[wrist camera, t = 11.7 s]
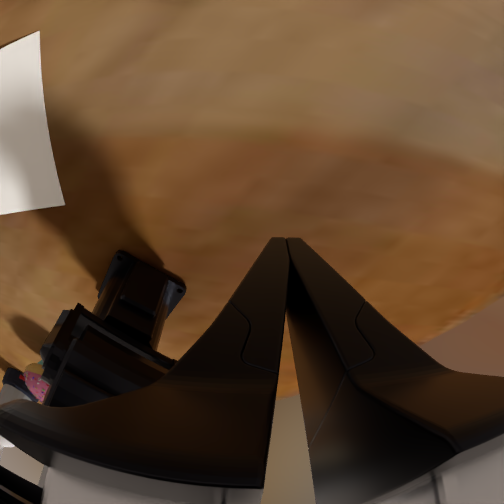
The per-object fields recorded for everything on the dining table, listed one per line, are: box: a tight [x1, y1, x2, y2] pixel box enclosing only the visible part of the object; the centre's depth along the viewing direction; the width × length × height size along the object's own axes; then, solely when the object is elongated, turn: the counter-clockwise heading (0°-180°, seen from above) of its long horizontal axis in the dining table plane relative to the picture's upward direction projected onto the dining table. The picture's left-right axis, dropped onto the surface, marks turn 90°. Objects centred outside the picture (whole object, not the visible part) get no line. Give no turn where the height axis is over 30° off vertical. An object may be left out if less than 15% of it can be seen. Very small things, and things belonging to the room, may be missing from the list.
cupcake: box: [23, 360, 49, 402], centre depth 29 cm, size 9×8×12 cm
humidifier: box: [0, 368, 39, 459], centre depth 30 cm, size 8×8×25 cm
